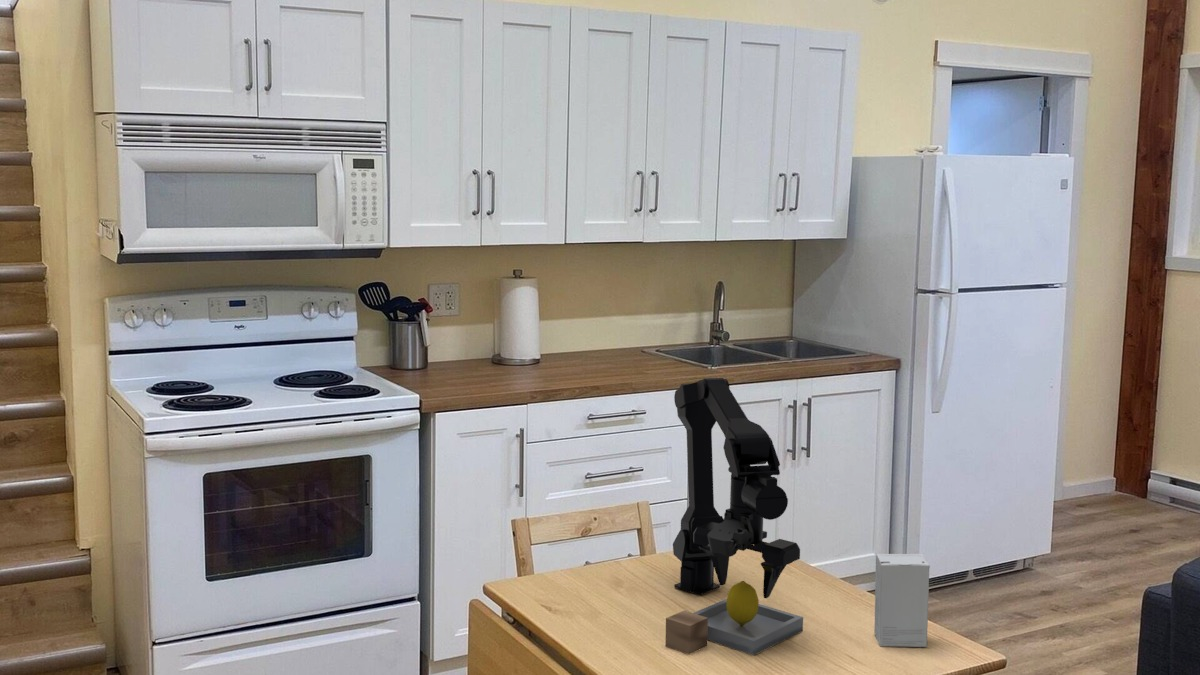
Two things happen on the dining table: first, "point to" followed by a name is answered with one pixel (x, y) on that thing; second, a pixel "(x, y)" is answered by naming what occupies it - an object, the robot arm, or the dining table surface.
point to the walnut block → (686, 632)
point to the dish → (750, 628)
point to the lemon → (742, 603)
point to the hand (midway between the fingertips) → (744, 591)
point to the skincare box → (901, 600)
